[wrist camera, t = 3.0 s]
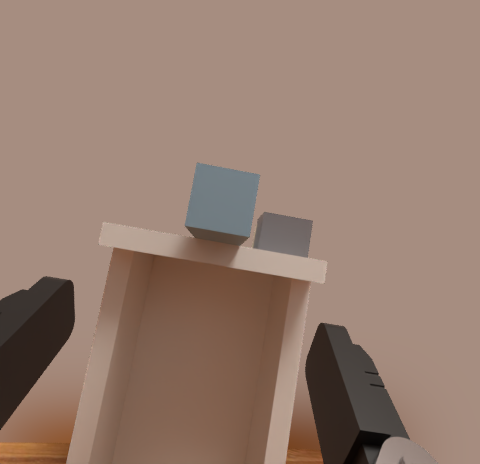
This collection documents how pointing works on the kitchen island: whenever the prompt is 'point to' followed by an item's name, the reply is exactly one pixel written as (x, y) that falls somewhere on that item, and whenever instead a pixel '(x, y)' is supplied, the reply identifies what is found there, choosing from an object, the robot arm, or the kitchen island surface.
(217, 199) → the slate block
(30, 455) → the kitchen island surface
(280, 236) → the charcoal block
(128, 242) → the shelf stand
